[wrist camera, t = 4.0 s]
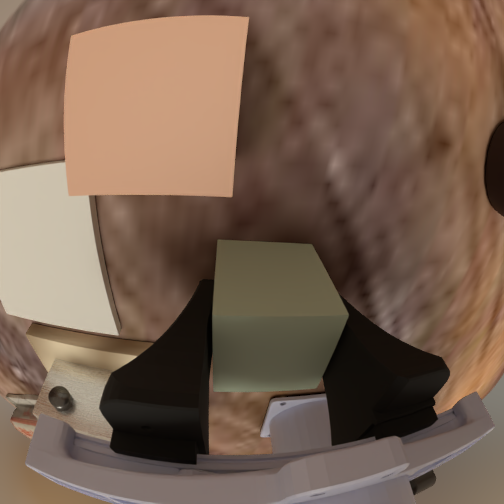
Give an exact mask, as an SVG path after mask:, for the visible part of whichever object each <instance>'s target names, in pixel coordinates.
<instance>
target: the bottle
mask: <svg viewBox="0 0 504 504" xmlns="http://www.w3.org/2000/svg"><path fill="white" fill-rule="evenodd" d="M486 184H487V190H488V197H489V199H490V202H491V204H492V206H493V208H494V209H495V210H496V211H497V212H498V213H499V214H501V215H502V216H504V122H503V123H502V124H501V125H500V126H499V127H498V128H497V130H496V132H495V134H494V136H493V137H492V140H491V144H490V147H489V150H488V157H487V164H486Z"/></svg>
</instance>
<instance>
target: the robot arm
mask: <svg viewBox="0 0 504 504" xmlns="http://www.w3.org/2000/svg"><path fill="white" fill-rule="evenodd" d="M338 294H339V293H338ZM213 296H214V280H208V279H202V280H201V281H200V283H199V285H198V287H197V289H196V291H195V293H194V295H193V296H192V298H191V299H190V301H189V303H188V304H187V306H186V307H185V309H184V310H183V311H182V313H181V314H180V315H179V317H178V318H177V319H176V320H175V322H174V323H173V324H172V325H171V326H170V327H169V329H168V330H167V331H166V332H165V333H164V334H163V335H162V336H161V337H160V338H159V339H158V340H157V341H156V342H155V343H153V344H152V345H151V346H150V347H149V348H148V349H146V350H145V351H144V352H142V353H141V354H140V355H139V356H137V357H136V358H135V359H133V360H132V361H130V362H129V363H127V364H125V365H124V366H122V367H120V368H119V369H117V370H115V371H114V372H112V373H111V375H110V377H109V379H108V381H107V383H106V385H105V387H104V390H103V394H102V397H101V401H100V404H99V409H100V411H101V413H102V415H103V416H104V418H105V419H106V420H107V422H108V423H109V424H110V426H111V427H112V428H113V432H112V437H111V441H107V440H103V439H99V438H95V437H91V436H88V435H84V434H81V433H78V432H75V430H74V429H73V428H72V427H71V426H70V425H69V424H67V423H66V422H64V421H61V420H59V419H56V418H53V417H50V416H48V415H45V414H40V415H39V418H38V421H37V424H36V427H35V430H34V433H33V436H32V440H31V443H30V447H29V450H28V454H27V458H26V461H25V464H26V465H27V466H28V467H30V468H31V469H33V470H34V471H36V472H38V473H39V474H41V475H43V476H45V477H46V478H48V479H50V480H52V481H54V482H55V483H57V484H60V485H62V486H64V487H67V488H69V489H72V490H75V491H78V492H80V493H83V494H85V495H88V496H91V497H94V498H97V499H100V500H103V501H107V502H110V503H114V504H416V501H415V498H414V495H413V492H412V488H411V485H410V482H409V481H410V480H413V479H415V478H417V477H419V476H421V475H423V474H425V473H427V472H429V471H431V470H433V469H434V468H436V467H438V466H440V465H442V464H444V463H445V462H447V461H449V460H450V459H452V458H454V457H456V456H457V455H459V454H461V453H462V452H464V451H465V450H467V449H468V448H470V447H471V446H472V445H474V444H475V443H476V442H477V441H479V440H480V439H481V438H483V437H484V436H485V435H486V434H488V433H489V432H490V431H491V430H492V429H493V428H494V427H495V425H494V423H493V421H492V419H491V417H490V415H489V413H488V411H487V409H486V408H485V406H484V404H483V402H482V400H481V398H480V397H479V395H478V393H477V392H474V393H472V394H469V395H467V396H465V397H464V398H462V399H461V400H459V401H458V402H457V403H456V404H455V405H454V406H453V408H452V409H449V410H447V411H445V412H443V413H440V414H438V415H436V413H435V411H434V409H433V406H434V405H435V400H434V398H433V397H434V396H435V395H436V394H437V393H438V391H439V390H440V389H441V388H442V387H443V386H444V384H445V383H446V382H447V380H448V378H449V376H450V371H449V369H448V367H447V365H446V364H445V362H444V360H443V359H442V357H439V356H436V355H433V354H430V353H427V352H425V351H422V350H420V349H417V348H415V347H413V346H411V345H409V344H407V343H405V342H403V341H401V340H399V339H397V338H395V337H394V336H392V335H390V334H389V333H387V332H385V331H384V330H383V329H381V328H380V327H378V326H377V325H375V324H374V323H372V322H371V321H370V320H369V319H367V318H366V317H365V316H364V315H362V314H361V313H360V312H359V311H357V310H356V309H355V308H354V307H353V306H352V305H351V304H350V303H348V302H347V301H346V300H345V299H344V298H343V297H342V296H341V295H340V294H339V296H340V298H341V300H342V302H343V304H344V306H345V308H346V310H347V312H348V314H349V316H348V319H347V321H346V324H345V326H344V329H343V331H342V334H341V336H340V338H339V341H338V343H337V345H336V348H335V350H334V352H333V354H332V357H331V359H330V361H329V363H328V365H327V368H326V370H325V372H324V374H323V376H322V377H323V382H324V387H325V392H326V394H317V395H307V396H295V397H280V398H273V399H272V400H271V401H270V403H269V406H268V410H267V413H266V416H265V419H264V422H263V426H262V429H261V432H260V436H261V437H271V444H272V451H273V454H261V455H209V376H210V367H211V360H212V352H213V344H212V312H213Z"/></svg>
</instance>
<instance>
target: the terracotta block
mask: <svg viewBox="0 0 504 504" xmlns="http://www.w3.org/2000/svg"><path fill="white" fill-rule="evenodd" d="M248 21H249V17H237V16H178V17H164V18H155V19H146V20H139V21H132V22H126V23H121V24H116V25H111V26H106V27H102V28H98V29H94V30H90V31H86V32H82V33H79V34H75V35H72V36H71V41H70V47H69V54H68V62H67V71H66V82H65V98H64V147H65V164H66V176H67V186H68V194H69V196H85V195H191V196H218V197H232V194H233V180H234V167H235V154H236V142H237V130H238V118H239V107H240V97H241V86H242V76H243V66H244V57H245V48H246V39H247V30H248Z"/></svg>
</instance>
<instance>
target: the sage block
mask: <svg viewBox="0 0 504 504" xmlns="http://www.w3.org/2000/svg"><path fill="white" fill-rule="evenodd" d="M348 316H349V314H348V312H347V310H346V308H345V306H344V304H343V302H342V300H341V298H340V296H339V294H338V292H337V290H336V288H335V286H334V284H333V282H332V281H331V279H330V277H329V275H328V273H327V271H326V269H325V267H324V266H323V264H322V262H321V260H320V258H319V256H318V254H317V253H316V251H315V249H314V247H313V245H312V244H301V243H281V242H261V241H240V240H218V241H217V253H216V266H215V280H214V296H213V312H212V344H213V390H214V392H269V391H289V390H302V389H314V388H317V386H318V384H319V382H320V380H321V378H322V376H323V374H324V372H325V370H326V368H327V365H328V363H329V361H330V359H331V357H332V354H333V352H334V350H335V348H336V345H337V343H338V341H339V338H340V336H341V334H342V331H343V329H344V326H345V324H346V321H347V319H348Z"/></svg>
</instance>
